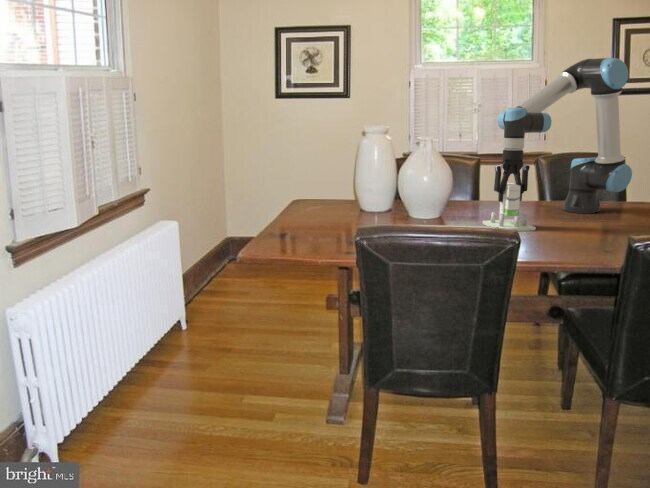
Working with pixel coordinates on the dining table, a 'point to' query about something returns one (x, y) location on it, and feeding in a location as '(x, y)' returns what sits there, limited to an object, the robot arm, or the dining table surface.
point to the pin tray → (509, 223)
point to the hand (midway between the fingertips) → (509, 209)
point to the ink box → (512, 200)
